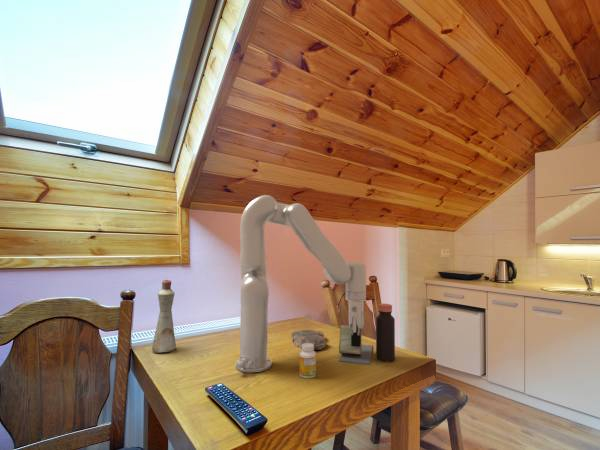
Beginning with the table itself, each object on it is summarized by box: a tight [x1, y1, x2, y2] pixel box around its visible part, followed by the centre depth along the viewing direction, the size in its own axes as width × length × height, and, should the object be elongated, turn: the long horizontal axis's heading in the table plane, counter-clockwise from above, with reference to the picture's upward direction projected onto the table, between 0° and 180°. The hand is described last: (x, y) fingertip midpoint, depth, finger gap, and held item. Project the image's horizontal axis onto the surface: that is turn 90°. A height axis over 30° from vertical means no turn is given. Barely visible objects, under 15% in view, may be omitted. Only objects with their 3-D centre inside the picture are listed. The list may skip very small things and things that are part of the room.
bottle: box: [151, 278, 177, 354], centre depth 124 cm, size 9×9×28 cm
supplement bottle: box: [298, 343, 317, 379], centre depth 102 cm, size 5×5×10 cm
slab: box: [338, 324, 363, 355], centre depth 120 cm, size 4×8×10 cm, turn 76°
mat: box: [339, 343, 373, 366], centre depth 122 cm, size 20×11×1 cm, turn 165°
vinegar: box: [375, 303, 396, 363], centre depth 117 cm, size 7×7×20 cm
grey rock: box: [291, 329, 327, 351], centre depth 133 cm, size 14×5×20 cm
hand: (355, 345), depth 115 cm, fingers closed
